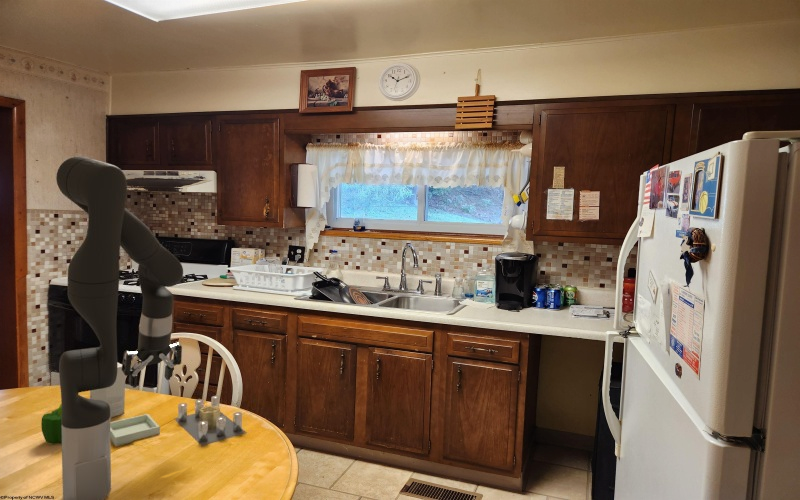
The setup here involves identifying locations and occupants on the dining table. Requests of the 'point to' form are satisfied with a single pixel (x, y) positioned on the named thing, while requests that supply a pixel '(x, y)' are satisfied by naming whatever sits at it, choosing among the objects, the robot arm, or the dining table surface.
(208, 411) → the yellow faceted hexagonal block
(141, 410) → the dining table surface
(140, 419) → the sage parts tray
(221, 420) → the standing spacers
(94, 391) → the skincare box
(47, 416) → the bell pepper
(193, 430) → the mat
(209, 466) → the dining table surface
